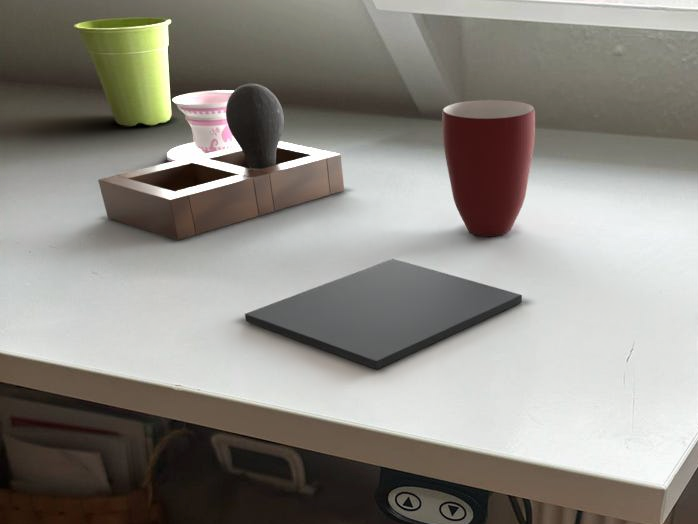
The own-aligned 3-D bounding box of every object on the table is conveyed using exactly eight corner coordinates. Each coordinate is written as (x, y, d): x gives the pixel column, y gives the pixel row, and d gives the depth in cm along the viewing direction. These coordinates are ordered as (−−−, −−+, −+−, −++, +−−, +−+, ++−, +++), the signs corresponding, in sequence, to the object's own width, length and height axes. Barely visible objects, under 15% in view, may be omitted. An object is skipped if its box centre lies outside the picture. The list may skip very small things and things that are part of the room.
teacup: (200, 175, 104) (188, 112, 100) (149, 156, 111) (136, 97, 107) (291, 156, 110) (283, 96, 106) (237, 139, 117) (228, 82, 113)
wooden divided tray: (178, 240, 86) (169, 199, 84) (107, 218, 92) (97, 179, 90) (344, 190, 98) (340, 154, 96) (272, 173, 104) (267, 138, 102)
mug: (416, 220, 90) (410, 102, 84) (486, 206, 93) (485, 91, 87) (476, 249, 83) (474, 123, 77) (550, 232, 87) (553, 110, 80)
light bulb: (239, 202, 96) (220, 90, 89) (238, 188, 100) (220, 80, 93) (294, 199, 96) (280, 87, 90) (291, 184, 101) (277, 77, 94)
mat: (377, 369, 64) (376, 361, 64) (245, 321, 71) (244, 313, 71) (522, 302, 73) (522, 294, 73) (393, 265, 80) (392, 258, 80)
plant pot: (204, 113, 129) (186, 16, 122) (163, 133, 121) (141, 29, 113) (126, 110, 131) (104, 14, 124) (80, 129, 123) (54, 27, 115)
